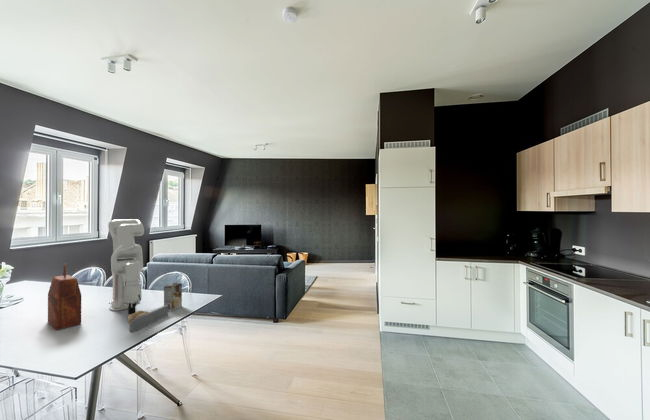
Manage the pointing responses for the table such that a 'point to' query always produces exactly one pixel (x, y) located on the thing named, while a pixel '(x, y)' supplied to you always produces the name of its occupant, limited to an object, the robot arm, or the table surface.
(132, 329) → the gray flat board
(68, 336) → the table surface
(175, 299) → the coffee box
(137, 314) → the oak block
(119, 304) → the robot arm
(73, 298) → the wooden peaked block
